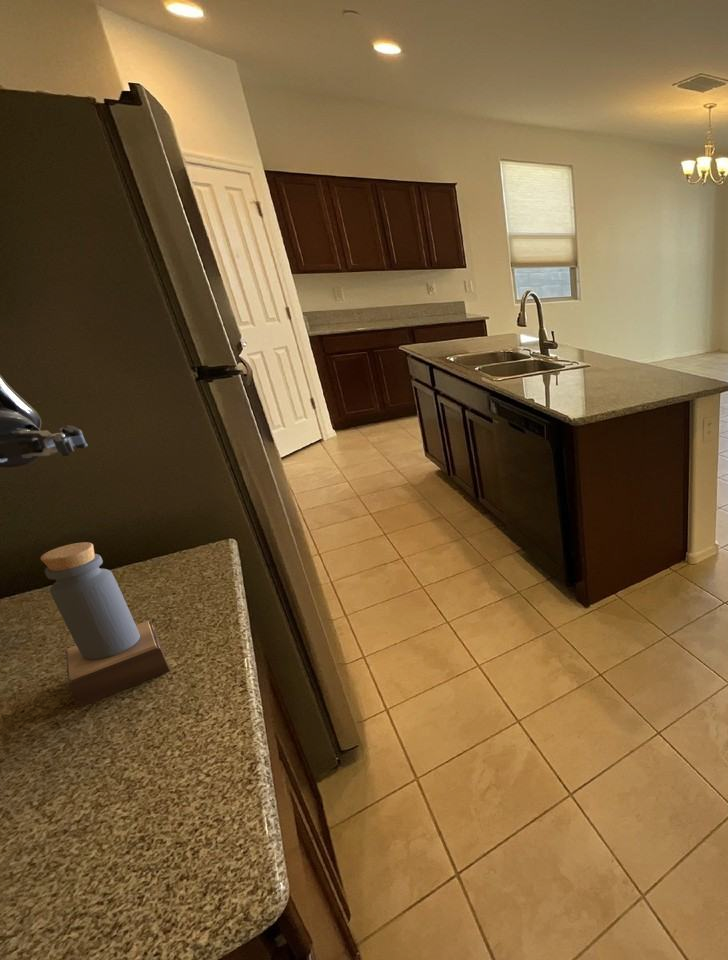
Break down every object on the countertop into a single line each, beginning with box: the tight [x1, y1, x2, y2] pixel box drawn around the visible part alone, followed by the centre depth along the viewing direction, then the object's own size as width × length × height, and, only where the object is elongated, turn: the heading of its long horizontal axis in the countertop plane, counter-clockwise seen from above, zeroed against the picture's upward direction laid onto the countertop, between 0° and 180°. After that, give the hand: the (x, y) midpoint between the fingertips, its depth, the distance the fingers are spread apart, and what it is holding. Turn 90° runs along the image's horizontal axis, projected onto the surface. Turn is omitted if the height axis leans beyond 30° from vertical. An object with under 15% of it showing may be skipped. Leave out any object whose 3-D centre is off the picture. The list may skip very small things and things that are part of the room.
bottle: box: [40, 541, 140, 660], centre depth 69 cm, size 6×6×15 cm
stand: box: [65, 620, 171, 708], centre depth 72 cm, size 9×9×4 cm
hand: (17, 457), depth 68 cm, fingers open, 8 cm apart
